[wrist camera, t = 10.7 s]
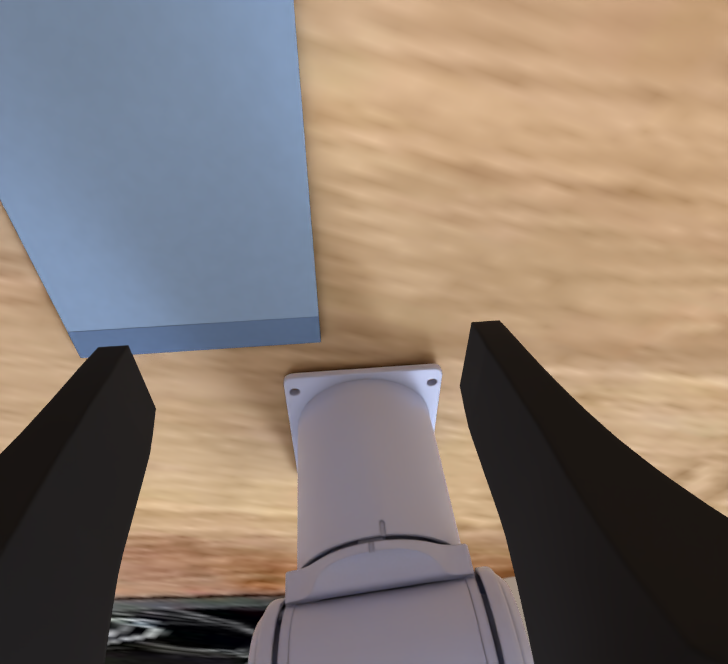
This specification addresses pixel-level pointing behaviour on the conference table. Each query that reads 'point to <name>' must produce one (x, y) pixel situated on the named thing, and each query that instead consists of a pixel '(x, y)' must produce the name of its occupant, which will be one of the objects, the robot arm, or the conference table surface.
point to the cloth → (160, 170)
